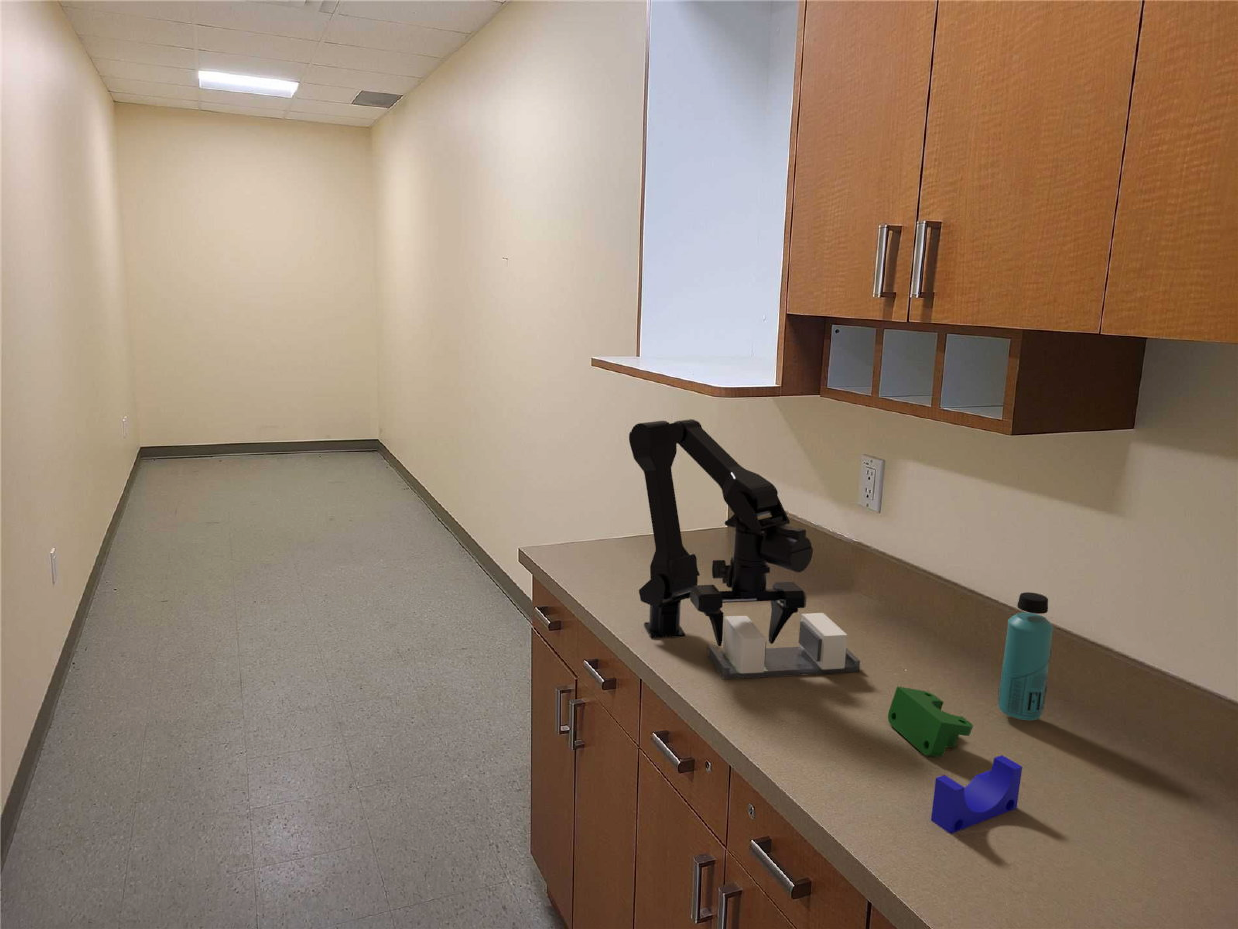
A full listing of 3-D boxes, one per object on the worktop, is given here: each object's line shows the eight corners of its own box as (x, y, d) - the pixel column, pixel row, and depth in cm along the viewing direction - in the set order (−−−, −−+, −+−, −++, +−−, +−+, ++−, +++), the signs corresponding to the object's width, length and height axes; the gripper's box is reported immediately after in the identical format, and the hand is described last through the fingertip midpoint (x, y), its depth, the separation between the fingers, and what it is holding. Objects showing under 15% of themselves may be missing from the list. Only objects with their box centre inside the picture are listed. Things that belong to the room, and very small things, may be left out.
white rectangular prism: (740, 673, 145) (742, 639, 144) (722, 648, 155) (724, 616, 154) (766, 672, 146) (768, 638, 145) (747, 647, 156) (749, 615, 154)
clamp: (948, 779, 126) (982, 738, 121) (913, 774, 124) (947, 732, 120) (914, 712, 136) (945, 672, 131) (881, 707, 134) (912, 666, 130)
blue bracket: (986, 791, 116) (992, 749, 114) (1016, 809, 112) (1022, 766, 110) (921, 815, 110) (926, 771, 109) (950, 835, 106) (955, 790, 105)
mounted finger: (796, 645, 157) (798, 614, 156) (820, 644, 158) (822, 612, 157) (818, 669, 148) (821, 636, 147) (844, 668, 149) (847, 635, 147)
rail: (708, 656, 154) (708, 646, 154) (836, 650, 159) (837, 639, 158) (723, 679, 145) (724, 668, 145) (859, 671, 150) (860, 660, 149)
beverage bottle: (1025, 734, 130) (1042, 606, 126) (985, 715, 136) (1001, 592, 132) (1051, 723, 134) (1068, 599, 130) (1011, 705, 139) (1027, 585, 135)
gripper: (786, 540, 156) (780, 623, 159) (683, 543, 153) (679, 628, 156) (810, 560, 145) (803, 649, 149) (701, 564, 142) (696, 654, 145)
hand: (745, 644), depth 150 cm, fingers open, 9 cm apart
